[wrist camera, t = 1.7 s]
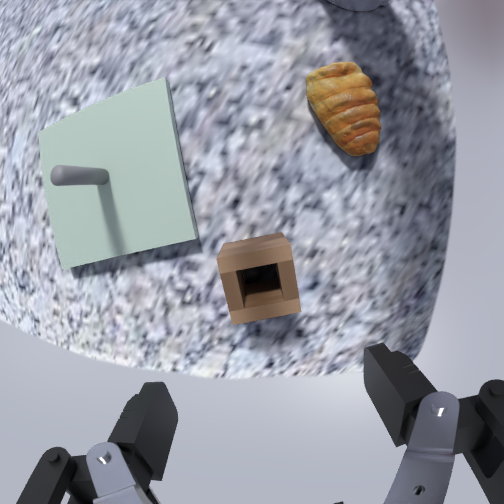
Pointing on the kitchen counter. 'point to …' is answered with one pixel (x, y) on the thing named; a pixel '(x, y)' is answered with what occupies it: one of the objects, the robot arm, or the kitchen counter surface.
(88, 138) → the green peg base
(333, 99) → the pastry
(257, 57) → the kitchen counter surface
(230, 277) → the hollow wooden cube
